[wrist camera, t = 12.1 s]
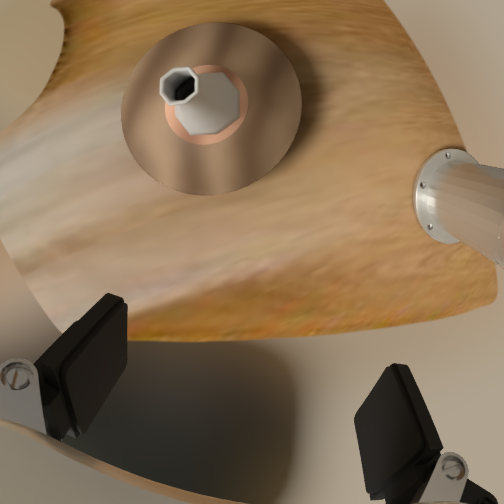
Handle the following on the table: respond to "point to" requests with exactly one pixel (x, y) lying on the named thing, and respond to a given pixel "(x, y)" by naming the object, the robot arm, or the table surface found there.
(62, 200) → the table surface
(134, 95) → the turntable
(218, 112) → the flask
